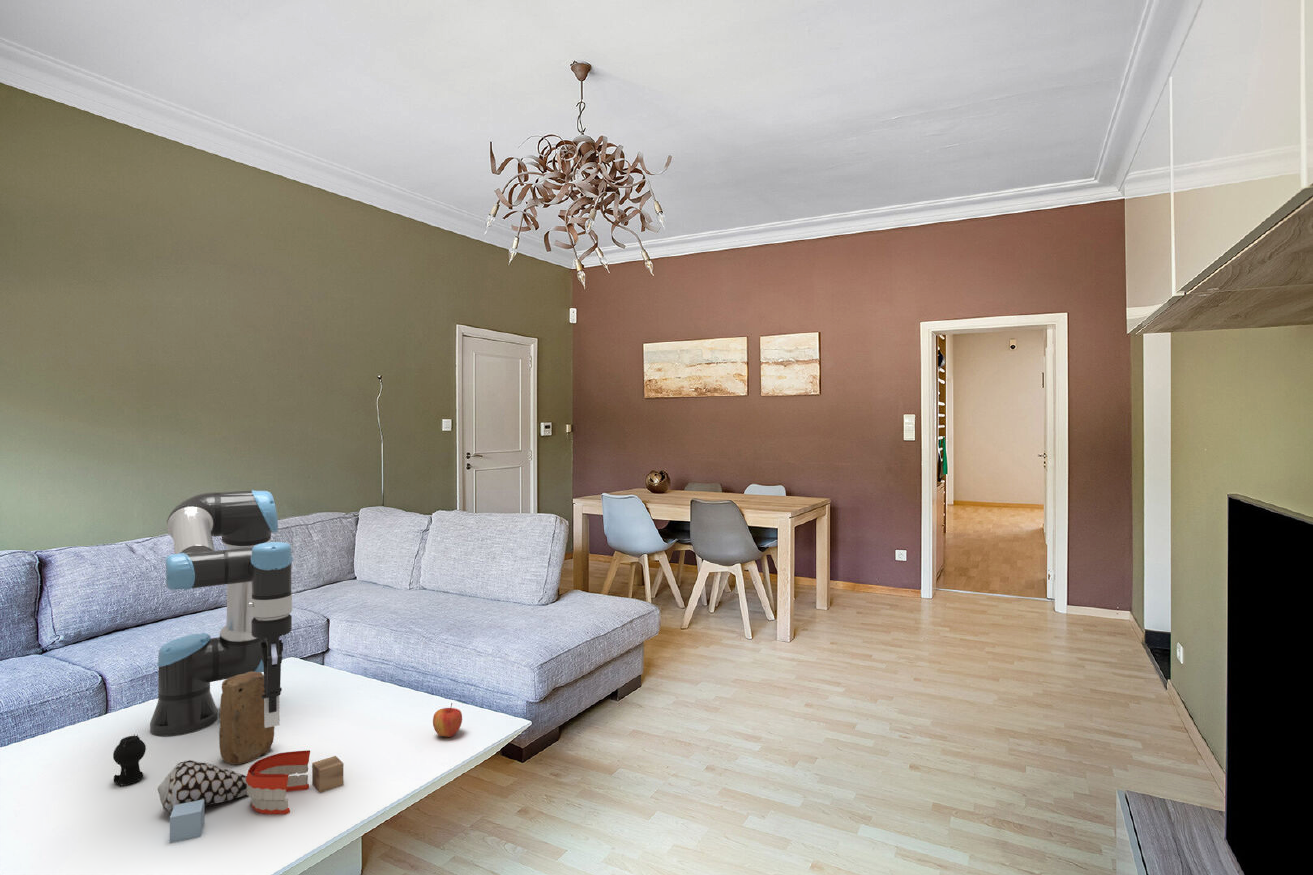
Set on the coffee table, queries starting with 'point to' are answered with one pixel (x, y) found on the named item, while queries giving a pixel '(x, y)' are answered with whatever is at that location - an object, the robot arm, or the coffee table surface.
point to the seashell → (200, 784)
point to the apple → (447, 721)
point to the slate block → (187, 821)
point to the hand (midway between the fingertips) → (271, 725)
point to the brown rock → (243, 719)
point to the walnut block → (327, 774)
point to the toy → (276, 780)
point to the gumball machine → (129, 760)
